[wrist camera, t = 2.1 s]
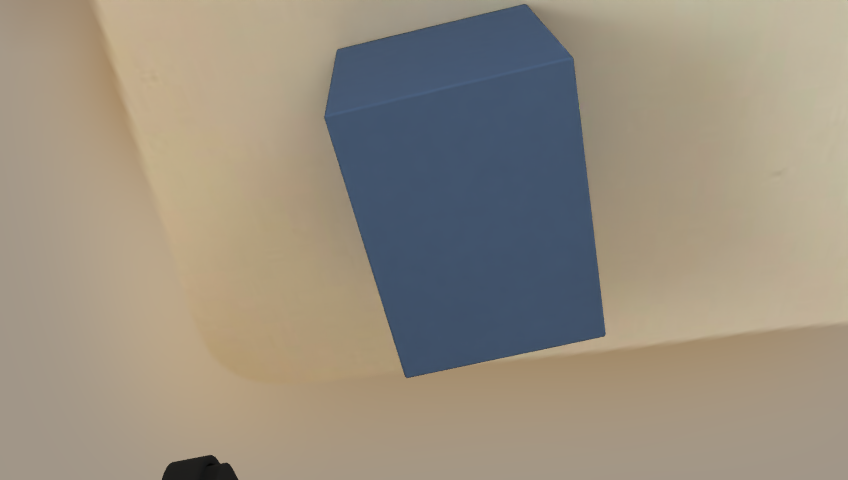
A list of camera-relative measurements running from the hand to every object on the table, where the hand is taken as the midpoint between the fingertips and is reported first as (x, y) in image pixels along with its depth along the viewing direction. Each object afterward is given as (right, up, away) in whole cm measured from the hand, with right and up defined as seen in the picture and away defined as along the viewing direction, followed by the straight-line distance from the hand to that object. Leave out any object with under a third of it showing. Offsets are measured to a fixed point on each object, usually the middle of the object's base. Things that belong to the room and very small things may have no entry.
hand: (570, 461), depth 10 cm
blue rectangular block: (-1, +6, +10) cm, 12 cm away
